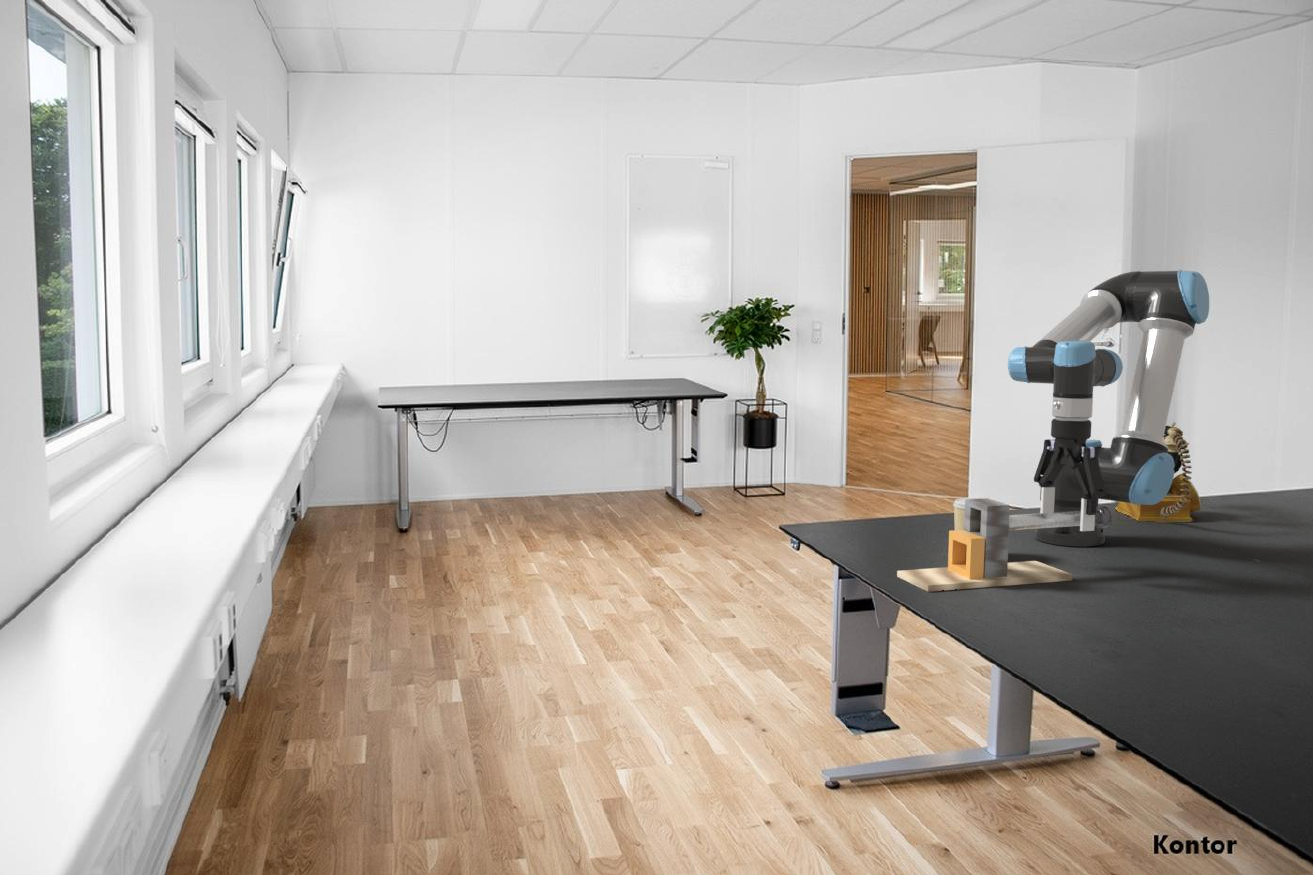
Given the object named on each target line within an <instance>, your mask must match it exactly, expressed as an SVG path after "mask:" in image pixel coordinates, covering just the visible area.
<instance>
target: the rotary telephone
mask: <svg viewBox="0 0 1313 875" xmlns="http://www.w3.org/2000/svg"><path fill="white" fill-rule="evenodd" d="M1183 434H1184V431H1183V430H1181V429H1180V427H1177V426H1176V422H1175V421H1173V422H1172V423H1171V425H1170V426H1169V425H1166V427H1165V432H1164V436H1163V441H1164V443H1165V444H1166V445H1167V447H1168V454H1169V455H1171V456H1172V457H1173V460H1174V464H1175V467H1174V469H1173V470H1174V474H1176V473H1178V472H1179V470H1180V469H1181V470H1182V471H1183V472H1182V473H1180V474H1178V475H1176V476H1175V477H1173V481H1172V484H1171V487H1170V489H1169V491H1168V493H1167V494H1166V496H1165V497H1164V498H1163V499H1162V500H1161V501H1160V502H1159V503H1157V504H1154V505H1144V504H1138V505H1135V504H1132V503H1126V502H1119V501H1117V503H1119V504H1118V505H1116V506H1115V509H1116V510H1117V511H1118V513H1119V512H1121V513H1123V514H1127V515H1129V516H1131V517H1132V518H1134V519H1136V520H1138V521H1193V518H1192V517H1191V513H1194V512H1197V511H1200V510H1201V509H1202V501H1201V498H1200V495H1199V493H1198V491H1197V489H1196V487H1195V485H1194V484H1193V482H1192V481H1191V480H1192V476H1189V475H1191V474H1193V472H1192V471H1190V470H1187V469H1192V468H1193V466H1191V465H1186V464H1190V463H1191V461H1192V460H1190V459H1189V458H1191V455H1190V454H1189V453H1190V450H1189V448H1188V447H1189V446H1188V445H1190V443H1189V442H1187V441H1186V439H1184V437H1183ZM1185 459H1186V460H1185ZM1187 474H1189V475H1187ZM1117 511H1116V512H1117ZM1121 513H1120V514H1121ZM1123 514H1122V515H1123Z"/></svg>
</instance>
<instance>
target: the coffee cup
mask: <svg viewBox="0 0 1313 875" xmlns="http://www.w3.org/2000/svg"><path fill="white" fill-rule="evenodd" d="M965 499H982V497H961V498H956V499H955V500H954V502H953V508H954V509H953V513H954V516H953V518H954V530H964V520H965Z"/></svg>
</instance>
